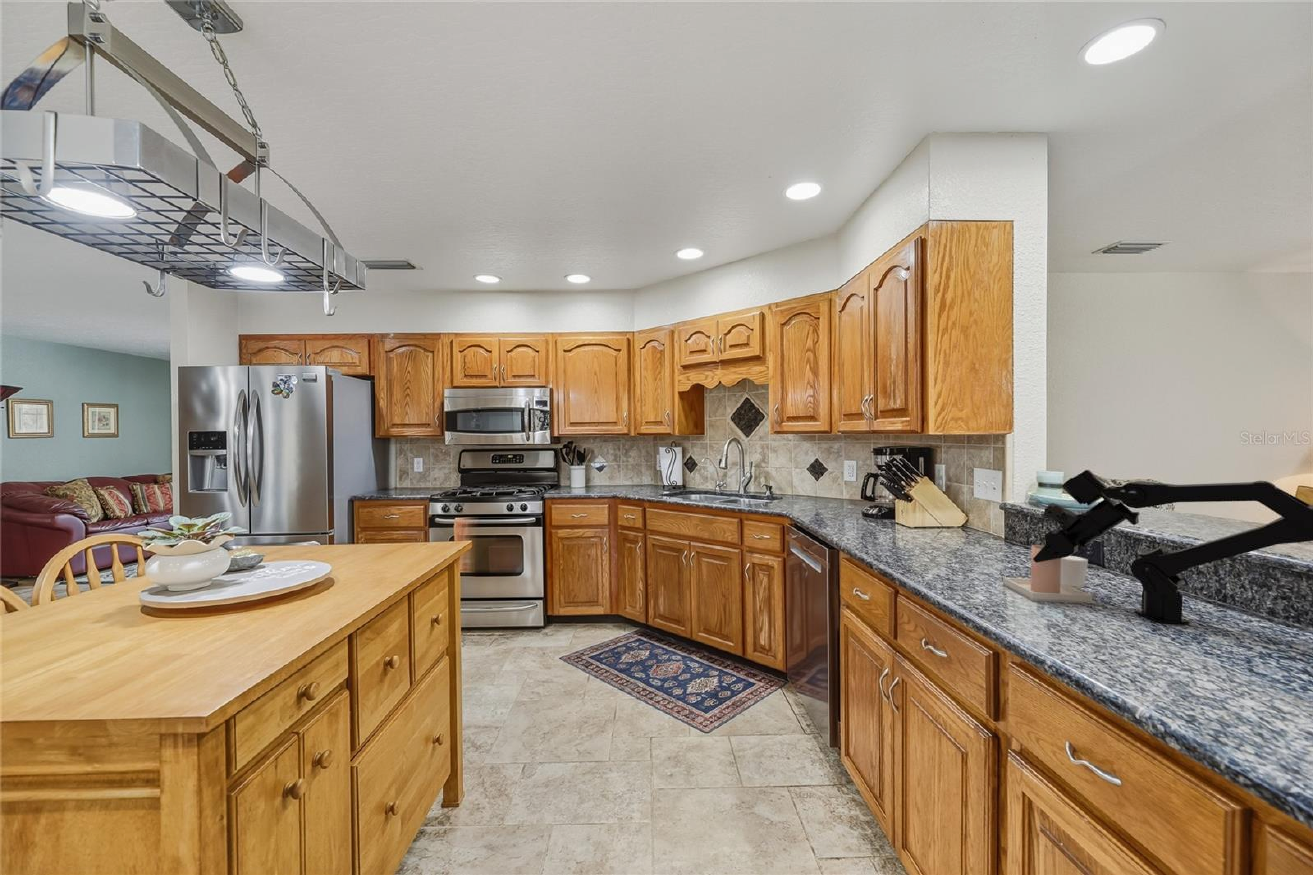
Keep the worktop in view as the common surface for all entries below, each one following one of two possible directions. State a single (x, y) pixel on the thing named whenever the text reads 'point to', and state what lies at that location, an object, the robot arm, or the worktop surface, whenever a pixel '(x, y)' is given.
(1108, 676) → the worktop surface
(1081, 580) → the white short cylinder
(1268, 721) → the worktop surface
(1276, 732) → the worktop surface
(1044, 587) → the deep cup
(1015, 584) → the tray
